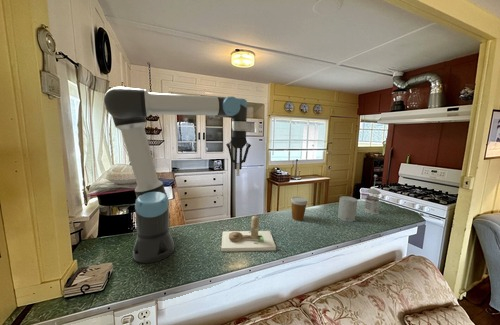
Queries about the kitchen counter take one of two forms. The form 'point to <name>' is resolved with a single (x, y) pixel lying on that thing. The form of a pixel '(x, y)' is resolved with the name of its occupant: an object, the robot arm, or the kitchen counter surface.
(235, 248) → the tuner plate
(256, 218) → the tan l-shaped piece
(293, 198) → the disposable coffee cup
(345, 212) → the grey cylinder
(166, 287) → the kitchen counter surface
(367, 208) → the french press
